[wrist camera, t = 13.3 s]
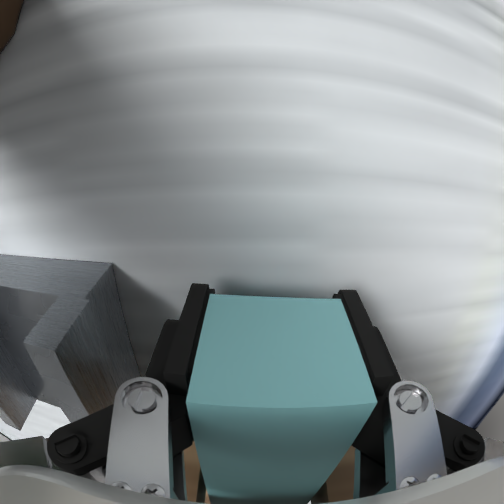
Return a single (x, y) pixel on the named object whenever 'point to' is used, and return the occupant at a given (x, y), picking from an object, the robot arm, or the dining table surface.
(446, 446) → the robot arm
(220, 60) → the dining table surface
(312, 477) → the teal block
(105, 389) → the cradle block
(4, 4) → the beer bottle
